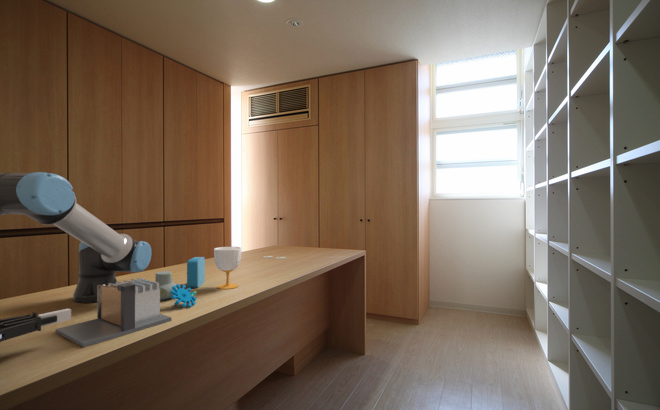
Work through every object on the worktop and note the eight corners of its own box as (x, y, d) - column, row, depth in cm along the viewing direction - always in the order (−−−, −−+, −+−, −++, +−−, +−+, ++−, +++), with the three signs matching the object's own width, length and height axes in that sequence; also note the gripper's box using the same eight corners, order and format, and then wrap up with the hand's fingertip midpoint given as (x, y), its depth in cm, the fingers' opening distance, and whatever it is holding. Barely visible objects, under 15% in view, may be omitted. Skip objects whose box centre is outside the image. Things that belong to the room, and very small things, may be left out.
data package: (194, 282, 159) (194, 256, 159) (204, 282, 160) (204, 256, 159) (186, 288, 147) (186, 260, 147) (197, 288, 148) (197, 260, 148)
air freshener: (143, 301, 128) (144, 274, 128) (156, 295, 137) (156, 270, 137) (172, 301, 128) (172, 275, 128) (182, 295, 136) (182, 270, 136)
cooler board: (55, 332, 97) (55, 285, 97) (141, 310, 117) (141, 271, 117) (83, 347, 87) (83, 294, 87) (171, 320, 107) (171, 277, 107)
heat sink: (106, 319, 105) (107, 283, 105) (139, 310, 114) (139, 277, 114) (126, 326, 99) (126, 289, 99) (159, 317, 107) (160, 282, 107)
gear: (180, 306, 116) (168, 283, 120) (170, 317, 117) (158, 294, 121) (204, 302, 126) (192, 281, 130) (194, 312, 127) (182, 291, 131)
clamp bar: (95, 317, 105) (95, 285, 105) (103, 315, 107) (103, 283, 107) (122, 327, 97) (122, 292, 97) (130, 325, 99) (130, 290, 99)
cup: (246, 285, 154) (246, 247, 154) (229, 291, 143) (229, 250, 143) (226, 282, 158) (226, 246, 158) (207, 288, 148) (207, 249, 148)
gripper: (-70, 354, 75) (59, 323, 95) (-57, 370, 68) (80, 333, 88) (-70, 320, 75) (59, 296, 95) (-57, 333, 68) (80, 304, 88)
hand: (69, 314), depth 91 cm, fingers closed
